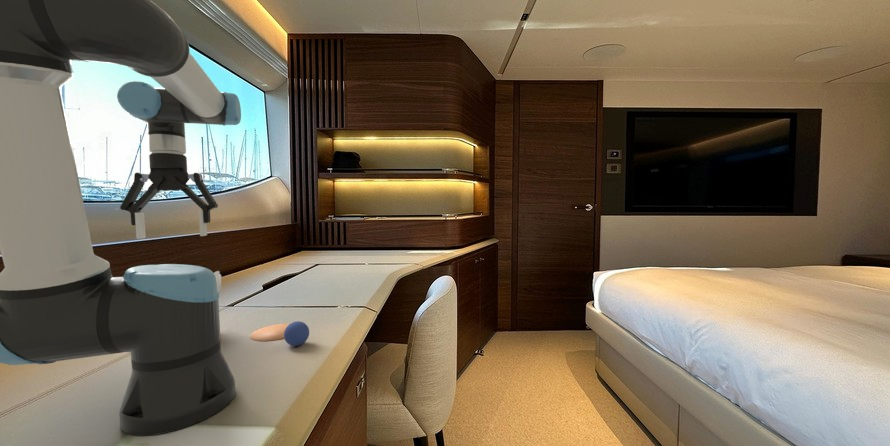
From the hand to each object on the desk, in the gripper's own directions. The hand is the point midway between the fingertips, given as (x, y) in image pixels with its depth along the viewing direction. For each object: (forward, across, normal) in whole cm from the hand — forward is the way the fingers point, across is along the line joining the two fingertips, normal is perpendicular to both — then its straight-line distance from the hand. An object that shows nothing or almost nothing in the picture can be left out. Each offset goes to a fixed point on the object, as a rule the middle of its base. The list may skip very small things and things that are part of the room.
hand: (173, 237), depth 91 cm
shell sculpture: (+26, -6, +3) cm, 26 cm away
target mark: (+26, -24, +8) cm, 36 cm away
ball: (+23, -30, +19) cm, 42 cm away
